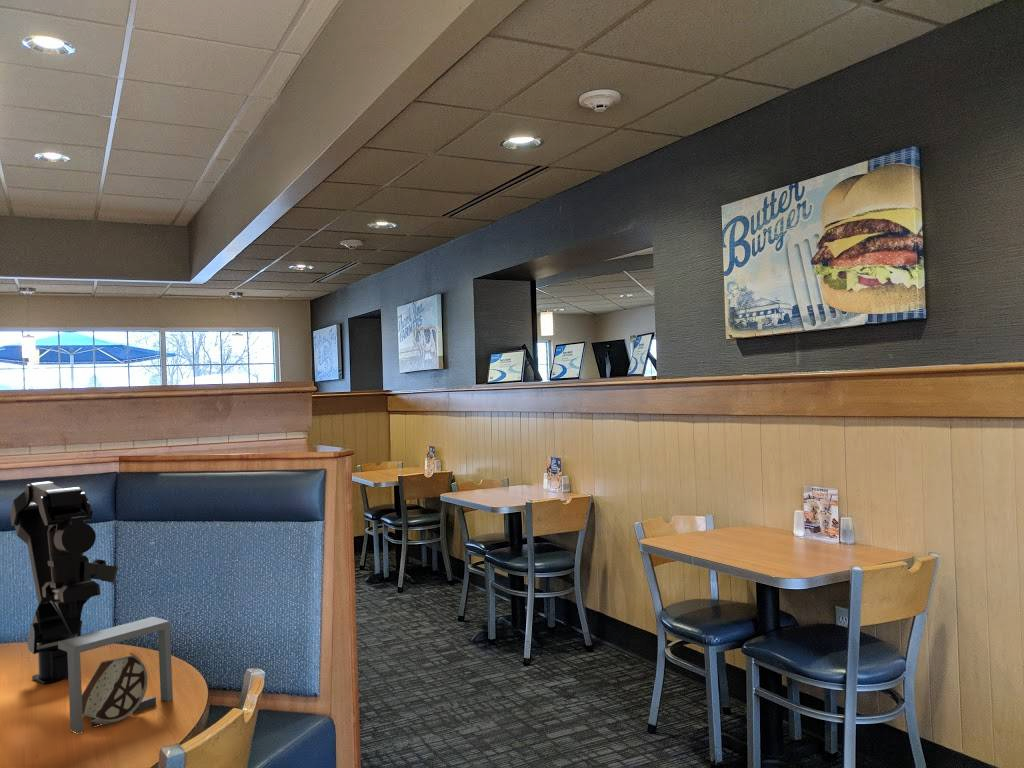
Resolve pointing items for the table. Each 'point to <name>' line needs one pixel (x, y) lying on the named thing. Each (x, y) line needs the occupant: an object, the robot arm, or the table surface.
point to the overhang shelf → (109, 637)
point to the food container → (115, 690)
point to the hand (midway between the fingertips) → (74, 634)
